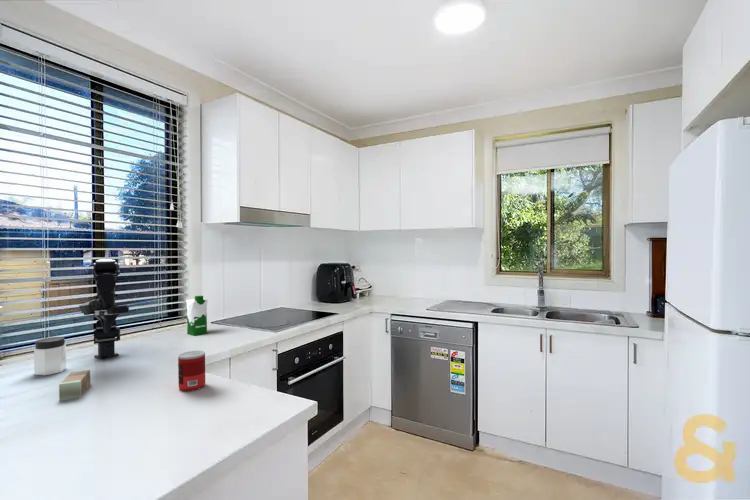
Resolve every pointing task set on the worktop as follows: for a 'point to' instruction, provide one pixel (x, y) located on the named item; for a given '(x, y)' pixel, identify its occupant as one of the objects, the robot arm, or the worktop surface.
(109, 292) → the robot arm
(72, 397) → the green and tan block
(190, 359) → the canned food
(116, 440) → the worktop surface
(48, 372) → the jar
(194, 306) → the milk carton
